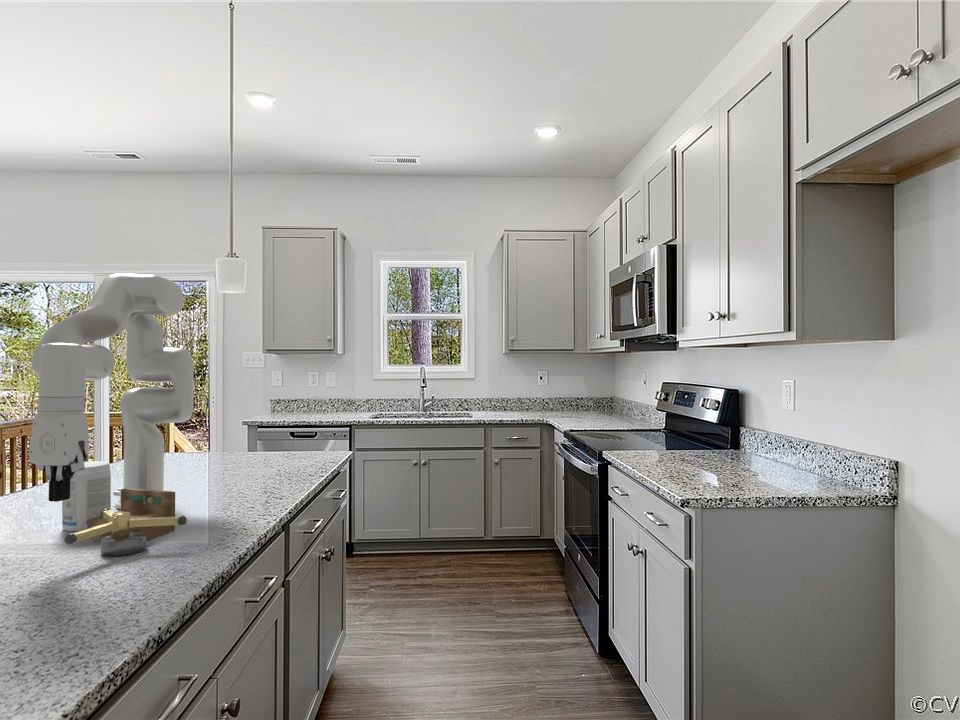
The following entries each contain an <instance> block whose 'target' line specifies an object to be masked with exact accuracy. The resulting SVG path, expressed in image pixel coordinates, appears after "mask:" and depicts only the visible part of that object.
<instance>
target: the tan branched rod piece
mask: <svg viewBox="0 0 960 720" xmlns="http://www.w3.org/2000/svg"><path fill="white" fill-rule="evenodd" d="M114 512H115V511H114ZM114 512H113V511H112V510H109V509H103V510H102V511H101V513H100V515H101V517H102V518H104V519H105V520H107V521H108V522H110V523H106V524H103V525H100V526H96V527H93V528H89V529H86V530H83V531H75V532H73V533H72V532H71V533H68V534H67V535H65V537H64V538H63V541H64V543H65V544H66V545H69V546H71V545H74V544H75V543H78V542H81V541H85V540H88V539H92V538H91V537H94V536H98V535H101V534H104V533H107V532H110V531H112V535H110V536H107V537H104V538H102V539H100V554H101V555H102V556H105V557H120V556H128V555H133V554H137V553H140V552H143V551H144V550H145V549H147V541H146V534H145V533H140V532H130V527H147V526H166V525H175V526H184V525H186V524H187V522H188V518H187V517H186V516H185V515H180V516H175V517H159V518H139V519H130V512H119V513H114Z"/></svg>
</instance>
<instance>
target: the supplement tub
mask: <svg viewBox="0 0 960 720" xmlns="http://www.w3.org/2000/svg"><path fill="white" fill-rule="evenodd" d="M110 464H111V463H110V462H109V461H105V460H104V461H103V460H90V461H88V460H87V461H86V462H84V466H85V469H84V470H81V471H76V472H75V473H74V476H73V478H72V479H70V498H69V499H67V500H62V501H61V505H62V506H61V511H62V512H61V514H62V515H61V523H62V524H61V525H62V529H63V530H65V531H68V532H79V531H83V530H86V529H88V519H92V518H95V517H99V516H101V515H100V513H101V511H102V510H103V509H109V510H111V509H112V506H111V505H112V501H111V499H112V497H111V495H112V493H111V492H112V491H111V488H112V485H111V484H112V483H111V477H112V476H111V465H110ZM111 511H112V510H111Z"/></svg>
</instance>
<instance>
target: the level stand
mask: <svg viewBox="0 0 960 720" xmlns="http://www.w3.org/2000/svg"><path fill="white" fill-rule="evenodd" d="M122 488H123V487H122ZM119 512H130V519H139V518H159V517H176V491H170V490H169V491H168V490H164V491H159V490H146V489H134V488H123V489H121V509H119V510H116V511H114V513H119ZM106 523H110V522H108V521H107V520H105V519H104V518H102V517H101V516H99V517H95V518H92V519H88V529H89V528H93V527H96V526H100V525H103V524H106ZM173 531H174V532H175V531H176V525H166V526H147V527H130V532H140V533H145V534H146V542H148V541H150V540H154V539H157V538H159V537H162V536H165V535H168V534H171V533H173ZM170 532H171V533H170ZM110 535H112V531H110V532H107V533H104V534H101V535H98V536H94V537H91V538H90V539H94V540H95V539H96V540H101V539H102V538H104V537H107V536H110Z"/></svg>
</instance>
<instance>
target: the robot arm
mask: <svg viewBox="0 0 960 720" xmlns="http://www.w3.org/2000/svg"><path fill="white" fill-rule="evenodd" d="M184 300H185V299H184V294H183V290H182V288H181V286H180V285H178V284H177V283H176V282H175V281H172V280H169V279H167V278H165V277H162V276H159V275H156V274H142V273H140V274H139V273H114V274H110V275H108V276H107V277H105V278H104V279H103V280H102V281H101V283H100V285H99V287H98V288H97V290H96V291H95V293H94V295H93V296H92V298H91V300H90V301H89V303H88V304H87V306H86V308H85V309H83V310H80V311H78V312H76V313H74V314H72V315H70V316H68V317H66V318H64V319H62V320H60V321H58V322H57V323H55V324H53V325H52V326H51V327H49V328H48V329H47V330H46V331H45V332H44V334H43V335H42V337H41V338H40V339H39V341H38V343H37V344H36V347H35V349H34V350H33V353H32V357H31V367H32V371H33V372H34V374H35V375H36V376H37V377H38V400H37V401H38V402H37V404H38V406H37V412H36V413H35V414H34V418H33V422H32V425H31V432H30V439H29V447H28V448H29V449H28V459H29V462H30V463H31V464H33V465H35V467H36V469H38V470H41V471H43V472H44V473H45V478H46V480H47V481H48V501H49V502H55V503H56V502H58V503H59V502H62V500H67V499H69V498H70V479H72V478H73V476H74V473H75V472H76V471H81V470H84V469H85V466H84V462H88V458H89V454H90V453H89V451H90V444H89V443H90V442H89V441H90V440H89V439H90V438H89V437H90V436H89V425H88V417H87V414H86V413H87V412H85V409H86V408H85V407H86V405H85V403H86V397H85V396H86V381H99V380H103V379H106V378H107V377H109V376H110V375H111V373H112V372H113V370H114V368H115V362H116V361H115V357H114V354H113V352H112V351H111V350H110V349H109V348H107V347H106V346H104V345H101V344H93V343H92V342H96V341H101V340H104V339H108V338H110V337H114V336H116V335H118V334H120V333H121V332H122V331H123V330H124V329H125V331H126V368H127V371H126V372H127V375H128V377H129V379H130V380H131V381H133V382H137V383H152V384H155V383H169V384H171V385H172V387H154V386H153V387H152V386H151V387H143V386H142V387H135V388H131V389H128V390H127V391H125V392H124V393H123V394H122V396H121V398H120V403H119V404H120V414H121V417H122V418H121V420H122V424H123V425H122V426H123V427H122V428H123V477H122V478H123V481H122V482H123V485H122V487H118V488H117V490H115V491H114V492H113V494H112V495H113V496H114V497H120V498H119V500H118V501H117V502H116V503H115V508H117V509H118V510H121V489H123V488H134V489H146V490H159V491H165V490H164V485H165V483H164V478H165V474H164V473H165V437H164V435H163V434H162V432H161V430H160V429H159V428H158V427H157V426H156V424H175V423H180V424H181V423H186V422H188V421H189V420H190V419H191V418H192V415H193V413H194V373H195V372H194V361H193V360H194V359H193V357H192V355H191V353H190V351H189V350H187V349H185V348H182V347H165V346H164V329H163V326H162V324H161V323H160V322H159V320H158V319H157V318H156V317H155V316H154V315H156V316H160V315H161V316H174V315H177V314H178V313H179V312H180V311H181V310H182V308H183V306H184ZM87 343H92V344H87Z"/></svg>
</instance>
